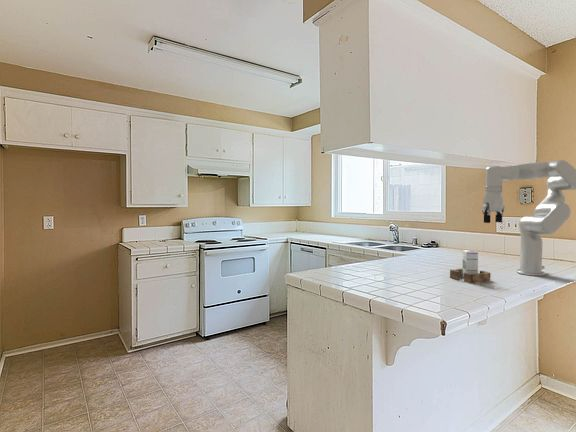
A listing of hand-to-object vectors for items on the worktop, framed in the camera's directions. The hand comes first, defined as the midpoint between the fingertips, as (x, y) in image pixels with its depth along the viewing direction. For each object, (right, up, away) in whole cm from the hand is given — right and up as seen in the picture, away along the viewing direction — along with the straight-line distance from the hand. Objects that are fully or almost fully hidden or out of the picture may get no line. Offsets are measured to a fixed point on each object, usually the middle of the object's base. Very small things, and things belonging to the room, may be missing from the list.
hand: (492, 222), depth 173 cm
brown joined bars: (-16, -29, -6) cm, 33 cm away
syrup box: (-16, -29, -6) cm, 33 cm away
